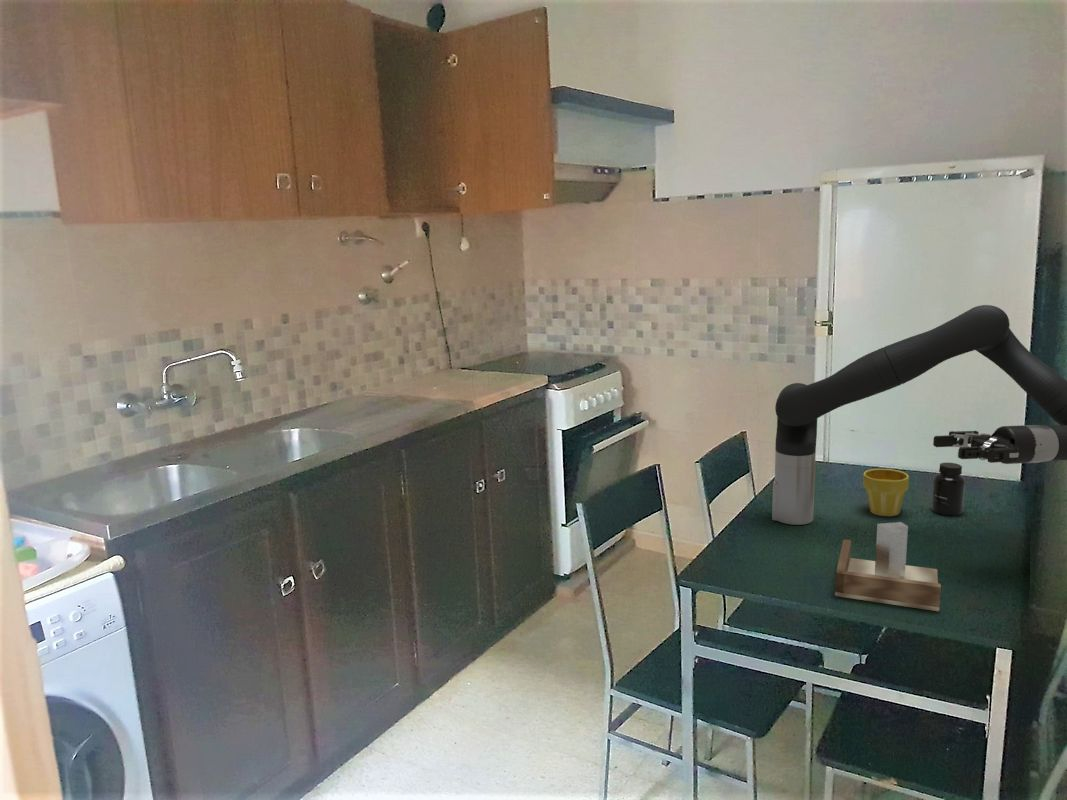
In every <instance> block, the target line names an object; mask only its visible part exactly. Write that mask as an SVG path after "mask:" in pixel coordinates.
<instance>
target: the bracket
mask: <svg viewBox="0 0 1067 800" xmlns="http://www.w3.org/2000/svg"><path fill="white" fill-rule="evenodd" d="M908 533H909V526H908V525H907V524H905V523H903V522H902V521H898V522H886V523H885V522H884V523H877V527H876V543H875V560H874V561H875V575H878V576H886V577H893V578H901V579H905V567H906V565H907V549H908Z"/></svg>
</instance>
